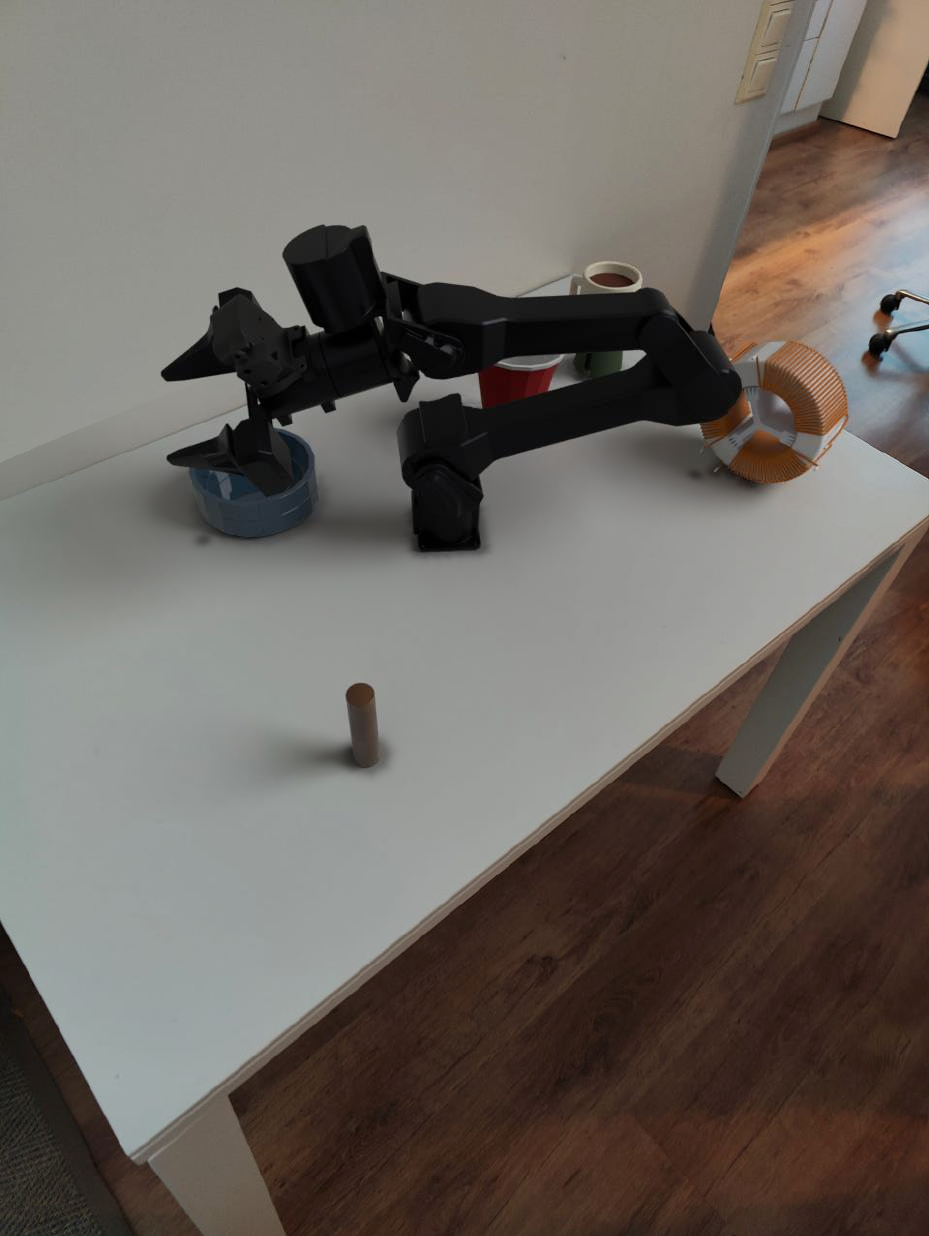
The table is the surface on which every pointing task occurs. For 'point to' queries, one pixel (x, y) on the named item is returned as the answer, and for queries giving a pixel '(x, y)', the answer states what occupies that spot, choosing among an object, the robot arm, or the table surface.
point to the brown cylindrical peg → (363, 724)
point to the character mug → (596, 282)
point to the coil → (779, 413)
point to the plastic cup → (517, 378)
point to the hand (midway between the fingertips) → (165, 417)
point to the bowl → (258, 496)
